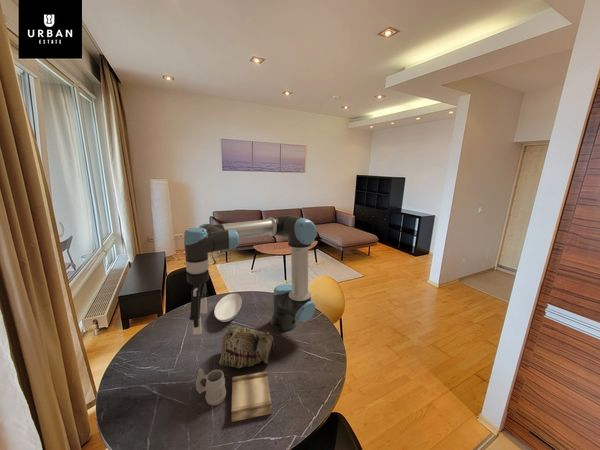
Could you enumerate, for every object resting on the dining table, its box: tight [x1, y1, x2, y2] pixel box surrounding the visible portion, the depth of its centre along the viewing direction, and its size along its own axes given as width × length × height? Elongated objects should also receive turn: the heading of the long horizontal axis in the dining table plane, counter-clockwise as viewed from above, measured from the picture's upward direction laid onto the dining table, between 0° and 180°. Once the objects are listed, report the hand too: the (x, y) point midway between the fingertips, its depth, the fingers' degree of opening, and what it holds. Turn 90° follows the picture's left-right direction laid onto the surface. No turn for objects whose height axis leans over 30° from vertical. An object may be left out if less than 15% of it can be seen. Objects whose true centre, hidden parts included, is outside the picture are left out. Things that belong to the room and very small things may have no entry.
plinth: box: [231, 370, 273, 423], centre depth 94 cm, size 14×16×4 cm
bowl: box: [214, 293, 243, 323], centre depth 150 cm, size 30×15×6 cm, turn 3°
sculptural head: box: [218, 324, 275, 369], centre depth 113 cm, size 17×21×25 cm
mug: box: [195, 367, 227, 406], centre depth 94 cm, size 8×12×12 cm, turn 83°
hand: (200, 322), depth 94 cm, fingers open, 13 cm apart
